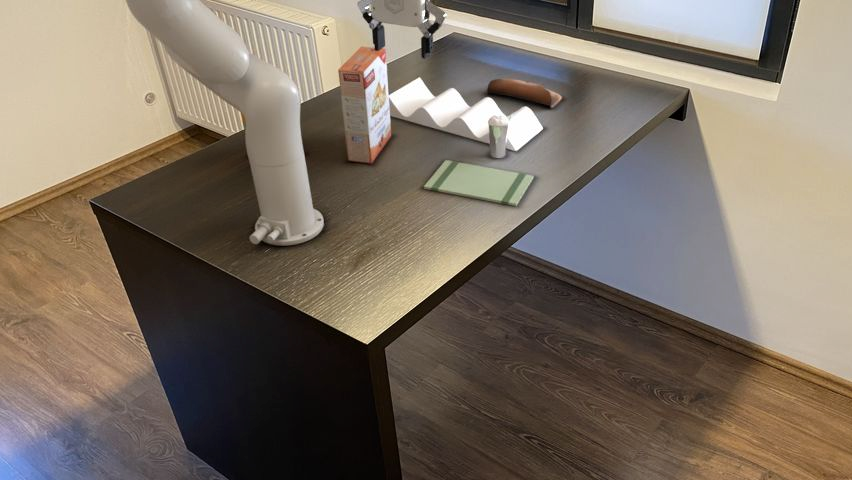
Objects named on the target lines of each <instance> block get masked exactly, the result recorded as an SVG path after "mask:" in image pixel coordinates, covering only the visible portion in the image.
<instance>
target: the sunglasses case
mask: <svg viewBox="0 0 852 480" xmlns="http://www.w3.org/2000/svg"><path fill="white" fill-rule="evenodd" d="M486 92H487V94H494V95H500V96H505V97H508V96H510V97H513V98H516V99H520V100H526V101H528V102H533V103H538V104H541V105H545V106H549V107H550V108H551V109H553V108H554V107H556V106H557V105H558V104H559V103H560V101H562V99H563V96H562V95H560V94H559V93H557V92H555V91H552V90H551V89H547V88H546V87H544V86H542V85H540V84H538V83H533V82H530V81H525V80H519V79H515V78H496V79H492V80H490V81H489V82H488V85H487V89H486Z"/></svg>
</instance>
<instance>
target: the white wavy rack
mask: <svg viewBox="0 0 852 480" xmlns="http://www.w3.org/2000/svg"><path fill="white" fill-rule="evenodd" d="M389 109H390V117H392V118H396V119H400V120H403V121H407V122H411V123H413V124H417V125H421V126H424V127H429V128H433V129H435V130H439V131H443V132H446V133H449V134H453V135H457V136H461V137H464V138H468V139H470V140H474V141H478V142H481V143H485V144H489V145H490V139H489V127H488V120H489V118H490V117H492V116H493V115H503V116H505V117H506V118H507V119H508V120H509V119H510V120H509V126H508V134H507V144H506V150H510V151H513V152H517V151H518V150H520V149H521V148H522V147H523V146H524V145H526V144H527V143H528V142H530V140H531V139H533V138H534V137H536V135H538V134H539V133H541V131H542V130H543V129H544V128H543V126H542V124H541V123H540V121H539V119H538V118H537V116H536V115H535V113H534V112H533V111H532V109H531V108H529V106H522V107H521V108H519V109H518V110H516V111H514V112H512V113H511V114H509V115H505V114H504V113H503V111H501V109H500V107H498V104H497V103H496V102H495V101H494V99H493V98H491V97H489V96H486V97H484V98H482V99H481V100H479V101H478V102H476V103H475V104H473V105H472V106H470V105H468V104H467V102H466V101H465V99H464V98H463V97H462V95H461V94H460V93H459V91H458V90H457V89H455V88H454V87H449V88H447V89H446V90H445V91H443V92H441V93H440V94H439V95H437V96H435V95H433V93H432V92H431V91H430V89H428V87H427V85H426V84H425V83H424V81H423V79H422V78H421V77H418V78H416V79H414V80H412V81H411V82H409V83H408V84H406V85H404V86H402V87H400V88H399V89H397V90H395V91H394V92H392V93H391V94H389ZM510 117H511V118H510Z"/></svg>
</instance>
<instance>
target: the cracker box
mask: <svg viewBox="0 0 852 480" xmlns="http://www.w3.org/2000/svg"><path fill="white" fill-rule="evenodd" d="M387 64H388V63H387V51H386V48H384V47H383V48H382V49H380V50H379V51H375V47H374V46H373V47H372V46H360V47H359V48H358V49H357V50H356V52H353V54H352V55H351V56H350V58H348V59H347V60H346V61H345V62H344V63H343V64H342V65H341V66H340V67H339V68H338V70H337V71H338V81H339V89H340V91H339V92H340V98H341V99H340V100H341V109H342V117H343V118H342V119H343V125H344V126H343V127H344V135H345V144H346V153H347V160H348V162H356V163H363V164H370V165H371V164H373V163H374V161H375V160H376V158H377V157H378V155H379V154H380V153H381V151H382V150H383V149H384V147H385V146H386V144H387V143H388V141H389V140H390V139H391V137H392V126H391V116H390V109H389V95H390V94H389V81H388V65H387Z"/></svg>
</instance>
